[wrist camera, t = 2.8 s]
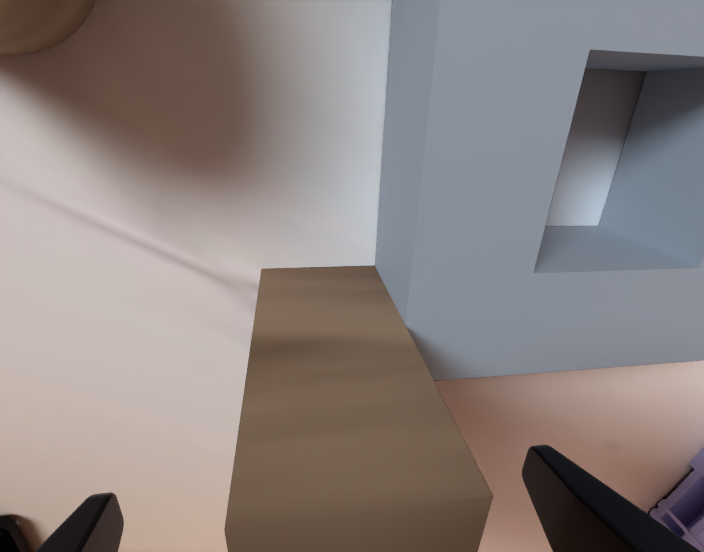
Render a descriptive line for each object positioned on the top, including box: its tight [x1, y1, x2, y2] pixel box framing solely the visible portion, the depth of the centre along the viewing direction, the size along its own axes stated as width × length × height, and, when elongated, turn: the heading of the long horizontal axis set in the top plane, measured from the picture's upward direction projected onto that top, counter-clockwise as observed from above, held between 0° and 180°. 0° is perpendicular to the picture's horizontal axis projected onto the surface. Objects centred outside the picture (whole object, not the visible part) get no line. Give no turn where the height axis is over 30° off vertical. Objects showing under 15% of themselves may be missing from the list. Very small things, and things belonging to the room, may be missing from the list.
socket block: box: [375, 0, 704, 381], centre depth 11 cm, size 12×12×4 cm
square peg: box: [225, 266, 493, 552], centre depth 11 cm, size 4×4×9 cm
